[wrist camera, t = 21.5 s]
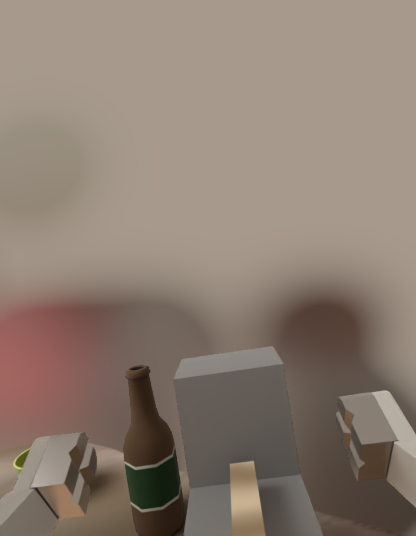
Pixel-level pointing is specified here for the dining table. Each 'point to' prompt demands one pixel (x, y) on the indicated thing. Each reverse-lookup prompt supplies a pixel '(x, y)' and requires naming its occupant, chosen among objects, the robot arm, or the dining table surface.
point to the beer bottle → (151, 462)
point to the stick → (245, 501)
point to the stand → (240, 441)
